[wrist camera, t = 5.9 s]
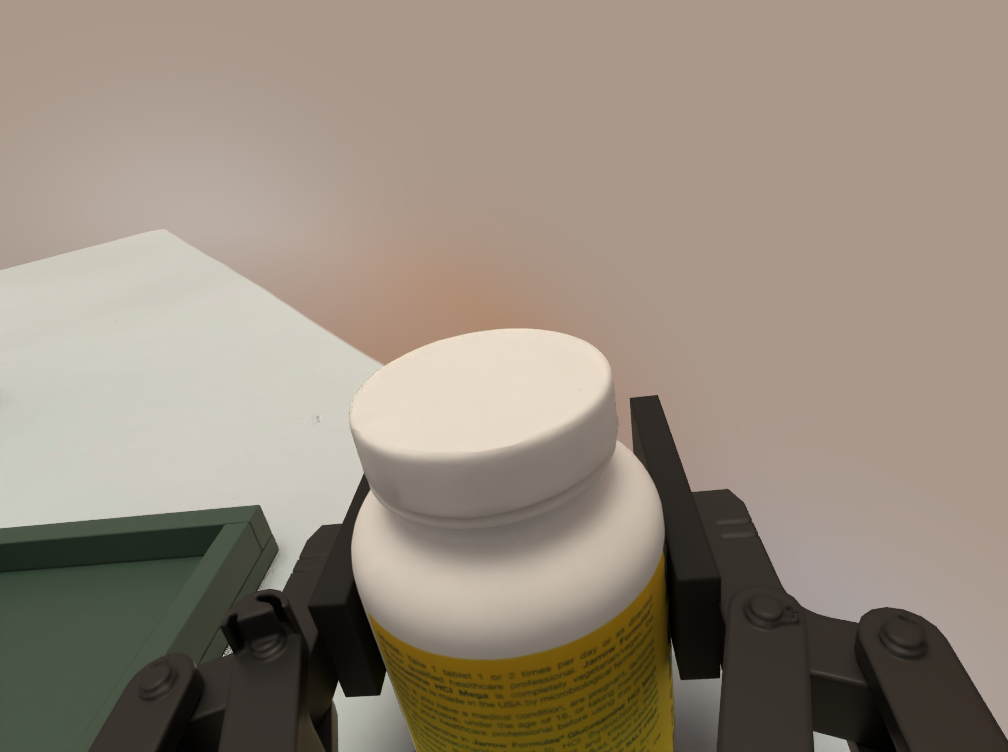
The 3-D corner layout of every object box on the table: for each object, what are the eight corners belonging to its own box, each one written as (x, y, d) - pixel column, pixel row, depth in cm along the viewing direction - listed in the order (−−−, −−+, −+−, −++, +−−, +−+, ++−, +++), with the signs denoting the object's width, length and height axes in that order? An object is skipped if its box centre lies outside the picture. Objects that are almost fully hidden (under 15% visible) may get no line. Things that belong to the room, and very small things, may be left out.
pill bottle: (734, 793, 14) (748, 379, 9) (504, 976, 12) (358, 562, 7) (581, 617, 19) (537, 289, 14) (400, 723, 17) (273, 378, 12)
